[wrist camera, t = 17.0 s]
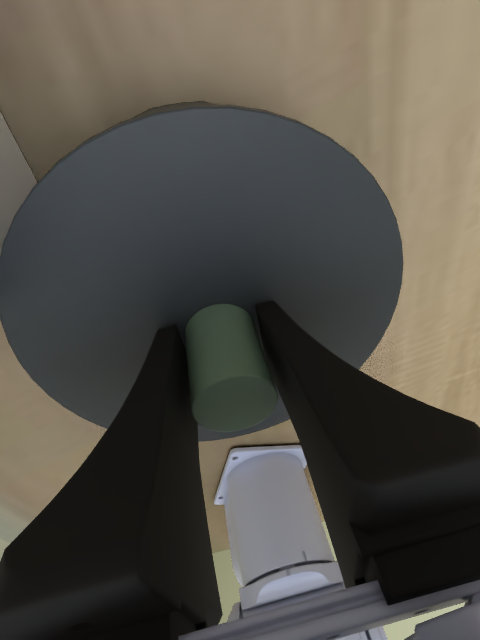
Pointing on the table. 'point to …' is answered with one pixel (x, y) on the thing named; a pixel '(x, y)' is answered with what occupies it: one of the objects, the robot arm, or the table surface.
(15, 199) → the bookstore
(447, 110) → the table surface
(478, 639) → the robot arm
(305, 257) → the bowl lid
